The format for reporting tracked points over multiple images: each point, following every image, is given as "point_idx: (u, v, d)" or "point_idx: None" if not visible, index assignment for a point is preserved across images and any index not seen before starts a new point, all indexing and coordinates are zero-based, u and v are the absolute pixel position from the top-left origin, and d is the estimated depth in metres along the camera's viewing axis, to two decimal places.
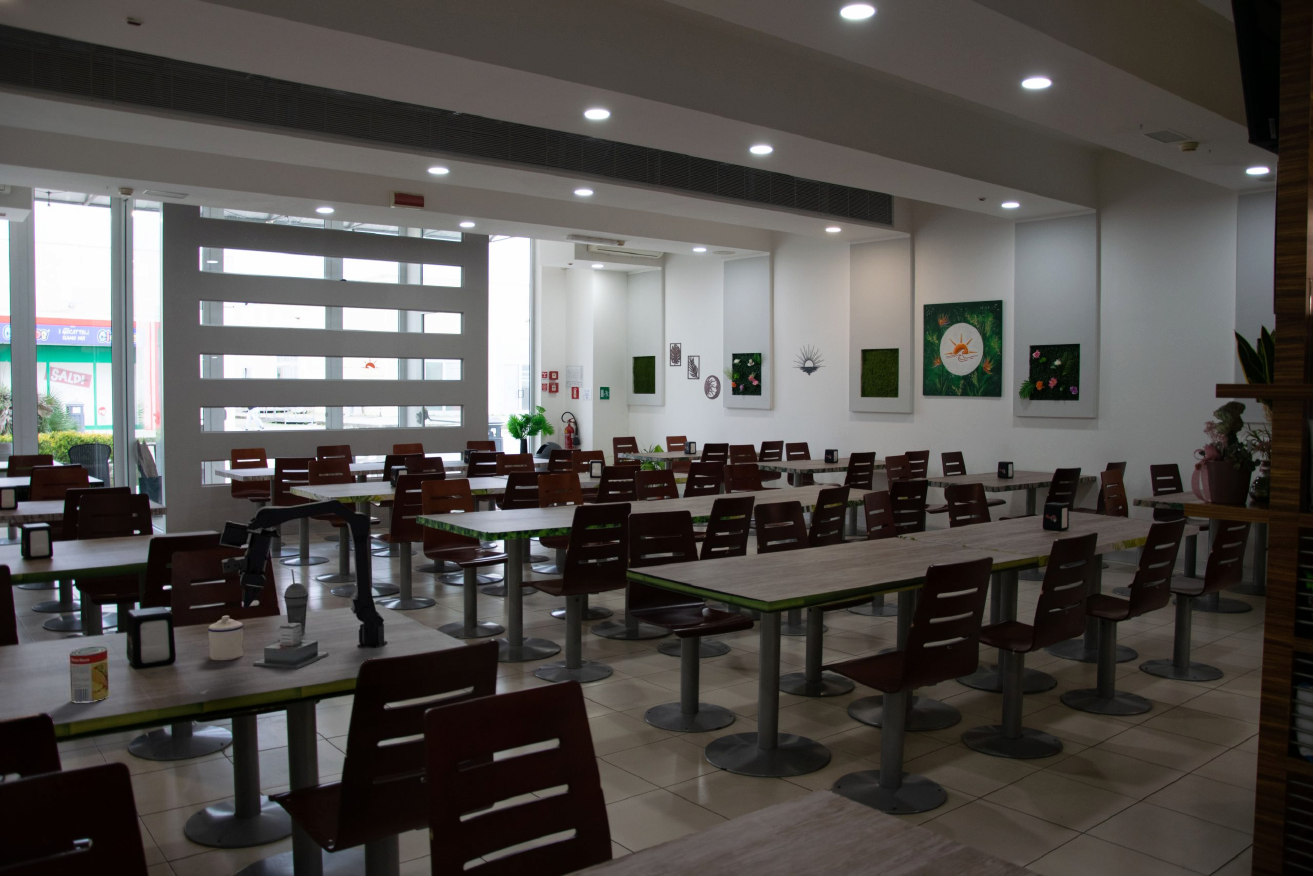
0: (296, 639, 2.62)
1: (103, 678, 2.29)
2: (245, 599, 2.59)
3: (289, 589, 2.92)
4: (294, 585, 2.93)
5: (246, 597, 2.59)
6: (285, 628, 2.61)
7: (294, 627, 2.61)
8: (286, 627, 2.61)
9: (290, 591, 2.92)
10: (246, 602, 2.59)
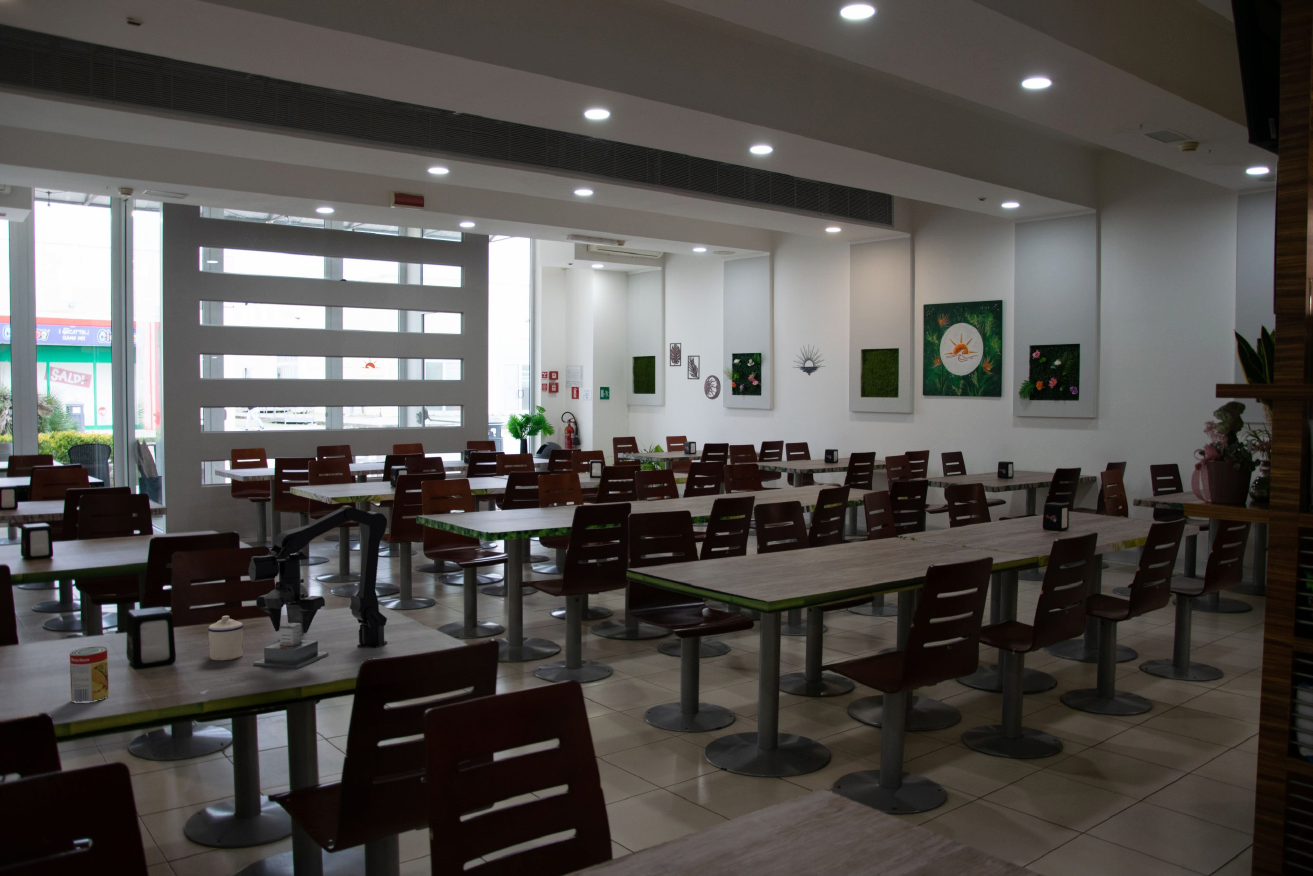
0: (296, 639, 2.62)
1: (103, 678, 2.29)
2: (306, 624, 2.61)
3: None
4: None
5: (307, 622, 2.61)
6: (285, 628, 2.61)
7: (294, 627, 2.61)
8: (286, 627, 2.61)
9: None
10: (307, 627, 2.61)
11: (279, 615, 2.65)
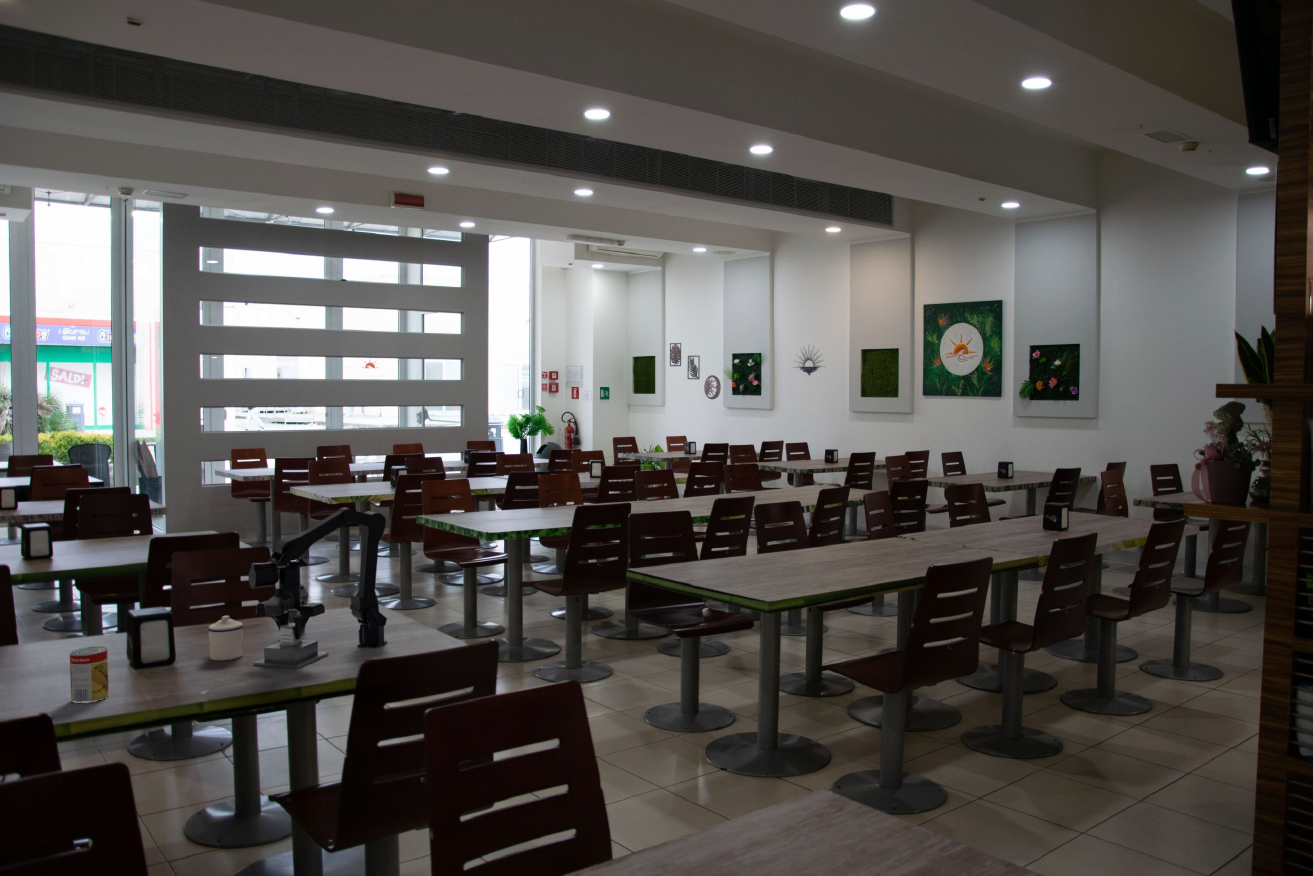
0: None
1: (103, 678, 2.29)
2: (299, 630, 2.61)
3: None
4: None
5: (299, 628, 2.61)
6: (285, 628, 2.61)
7: (294, 627, 2.61)
8: (286, 627, 2.61)
9: None
10: (299, 633, 2.62)
11: (286, 622, 2.65)
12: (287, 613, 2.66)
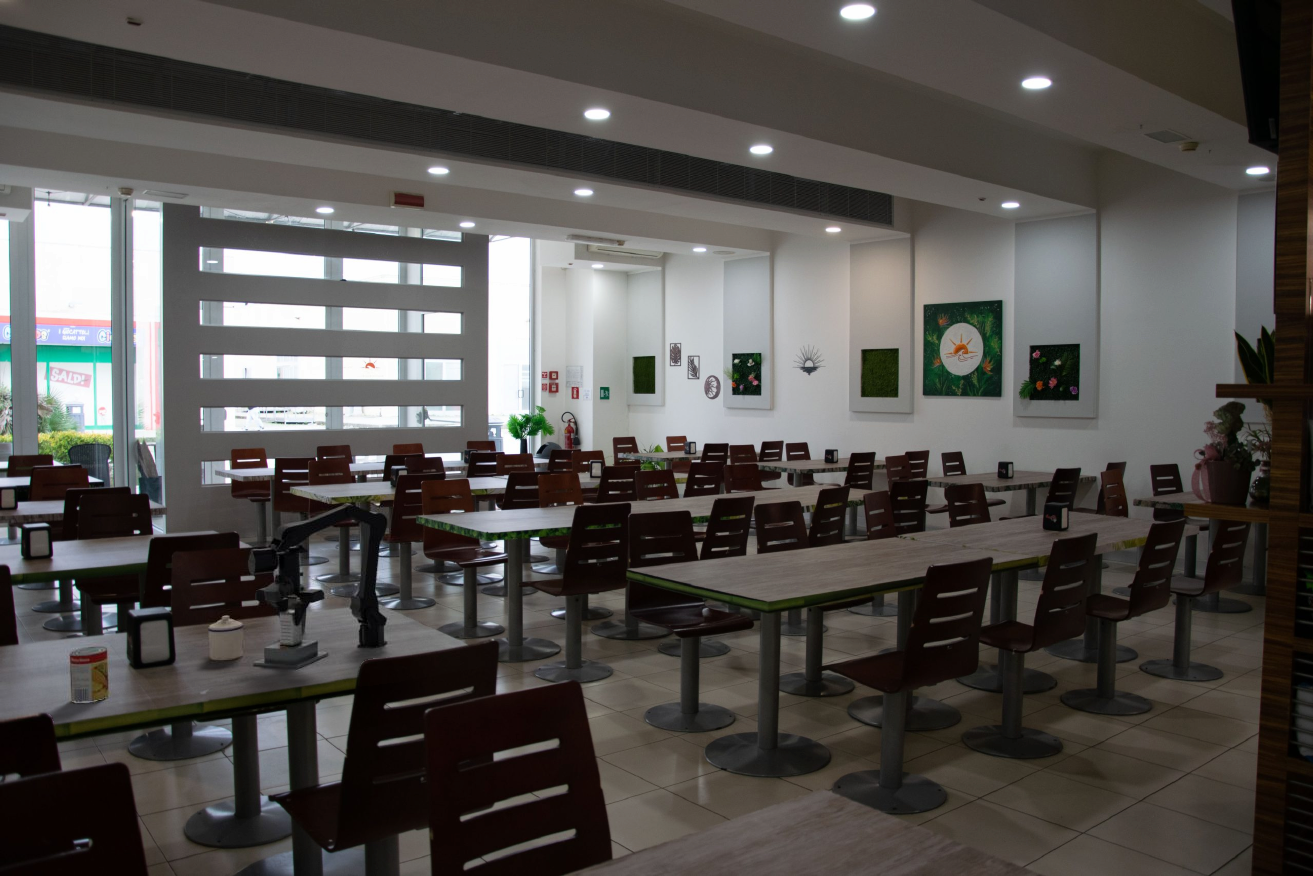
0: (295, 625, 2.62)
1: (103, 678, 2.29)
2: (298, 617, 2.61)
3: None
4: None
5: (299, 614, 2.61)
6: (285, 615, 2.61)
7: (294, 613, 2.61)
8: (286, 613, 2.61)
9: None
10: (299, 619, 2.62)
11: (285, 608, 2.65)
12: (287, 599, 2.65)
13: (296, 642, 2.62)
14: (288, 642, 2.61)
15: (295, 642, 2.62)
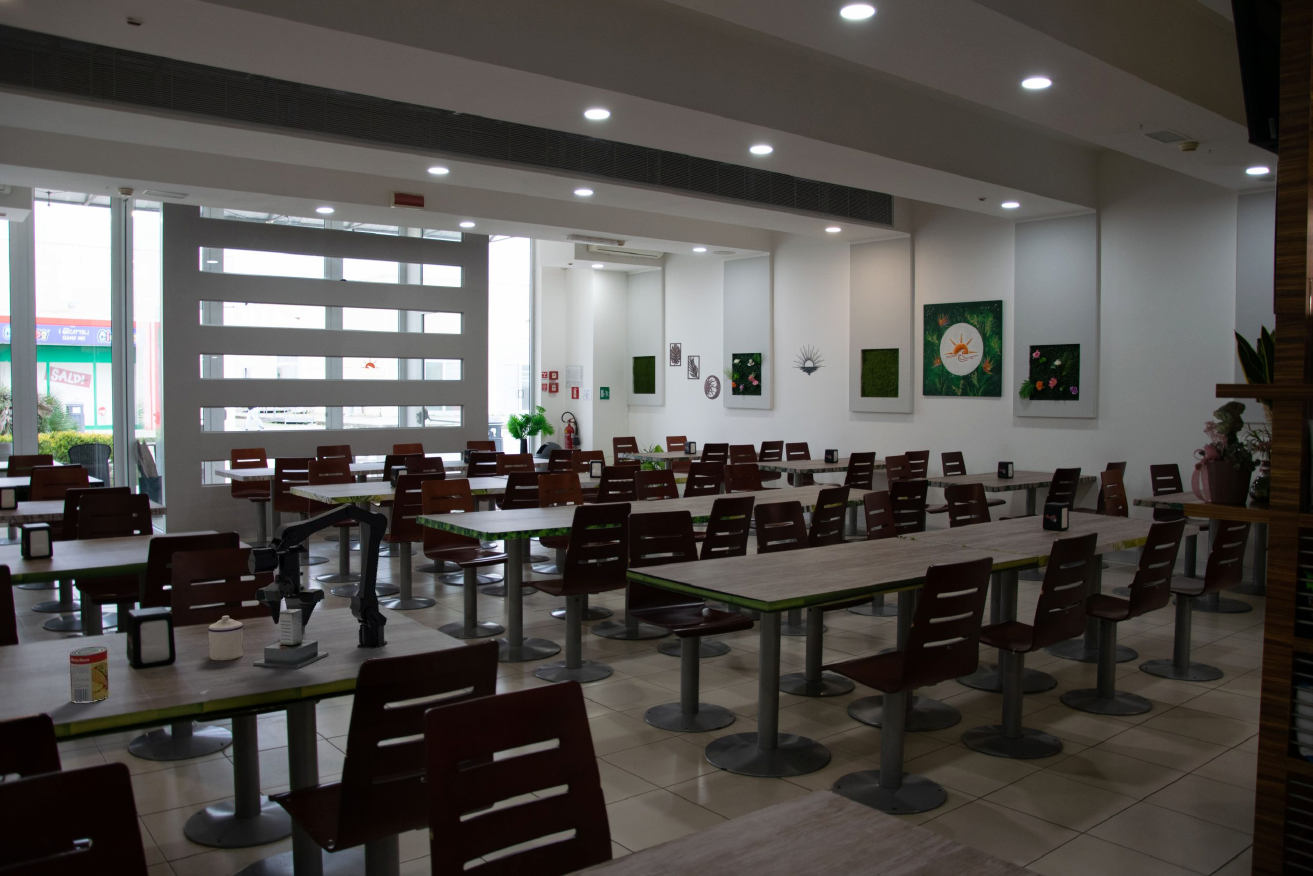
0: (295, 625, 2.62)
1: (103, 678, 2.29)
2: (306, 617, 2.61)
3: None
4: None
5: (306, 614, 2.61)
6: (285, 614, 2.61)
7: (294, 613, 2.61)
8: (286, 613, 2.61)
9: None
10: (306, 619, 2.61)
11: (278, 607, 2.65)
12: None
13: (296, 642, 2.62)
14: (288, 642, 2.61)
15: (295, 642, 2.62)
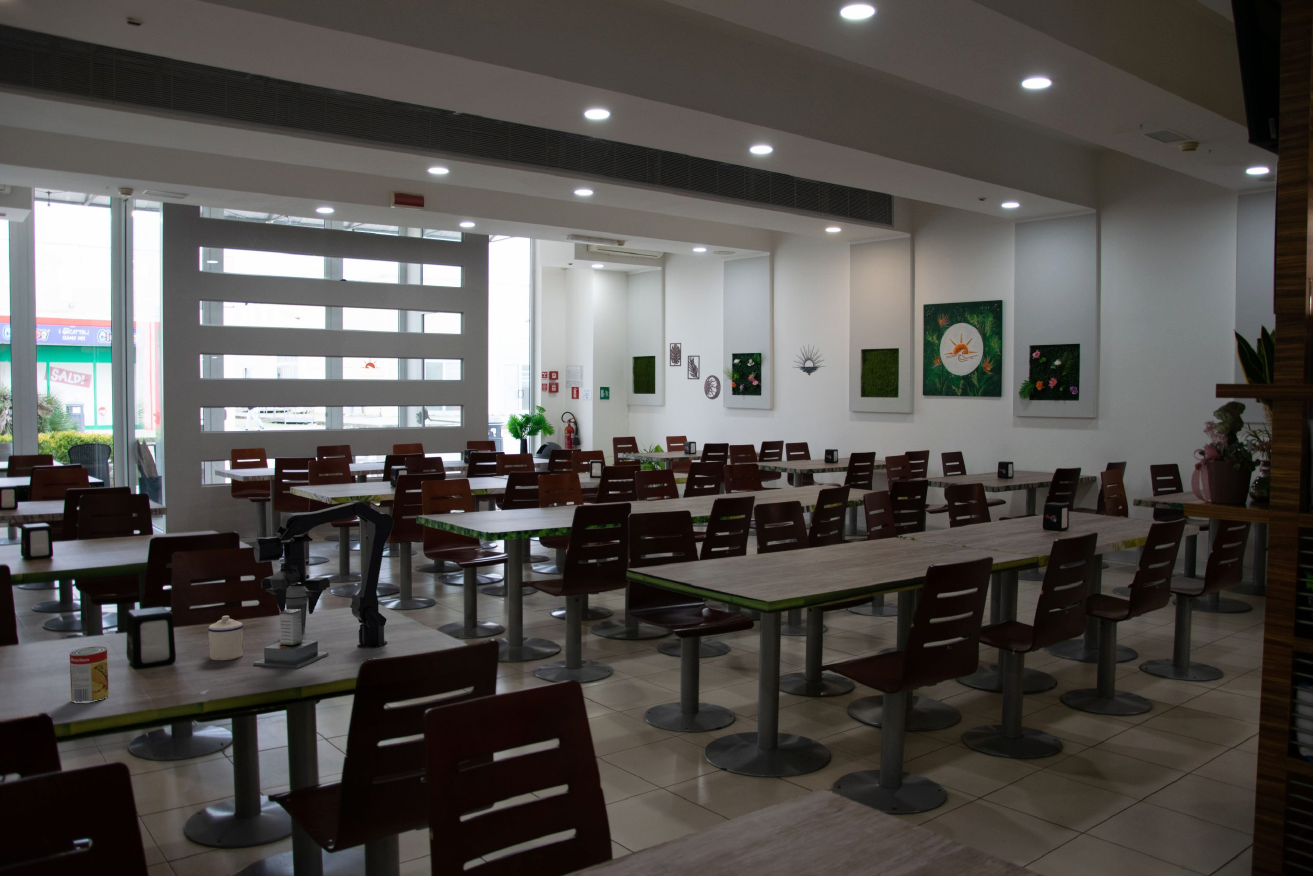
0: (295, 625, 2.62)
1: (103, 678, 2.29)
2: (312, 605, 2.63)
3: (289, 589, 2.92)
4: None
5: (312, 602, 2.63)
6: (285, 614, 2.61)
7: (294, 613, 2.61)
8: (286, 613, 2.61)
9: (290, 591, 2.92)
10: (312, 607, 2.63)
11: (284, 596, 2.68)
12: None
13: (296, 642, 2.62)
14: (288, 642, 2.61)
15: (295, 642, 2.62)
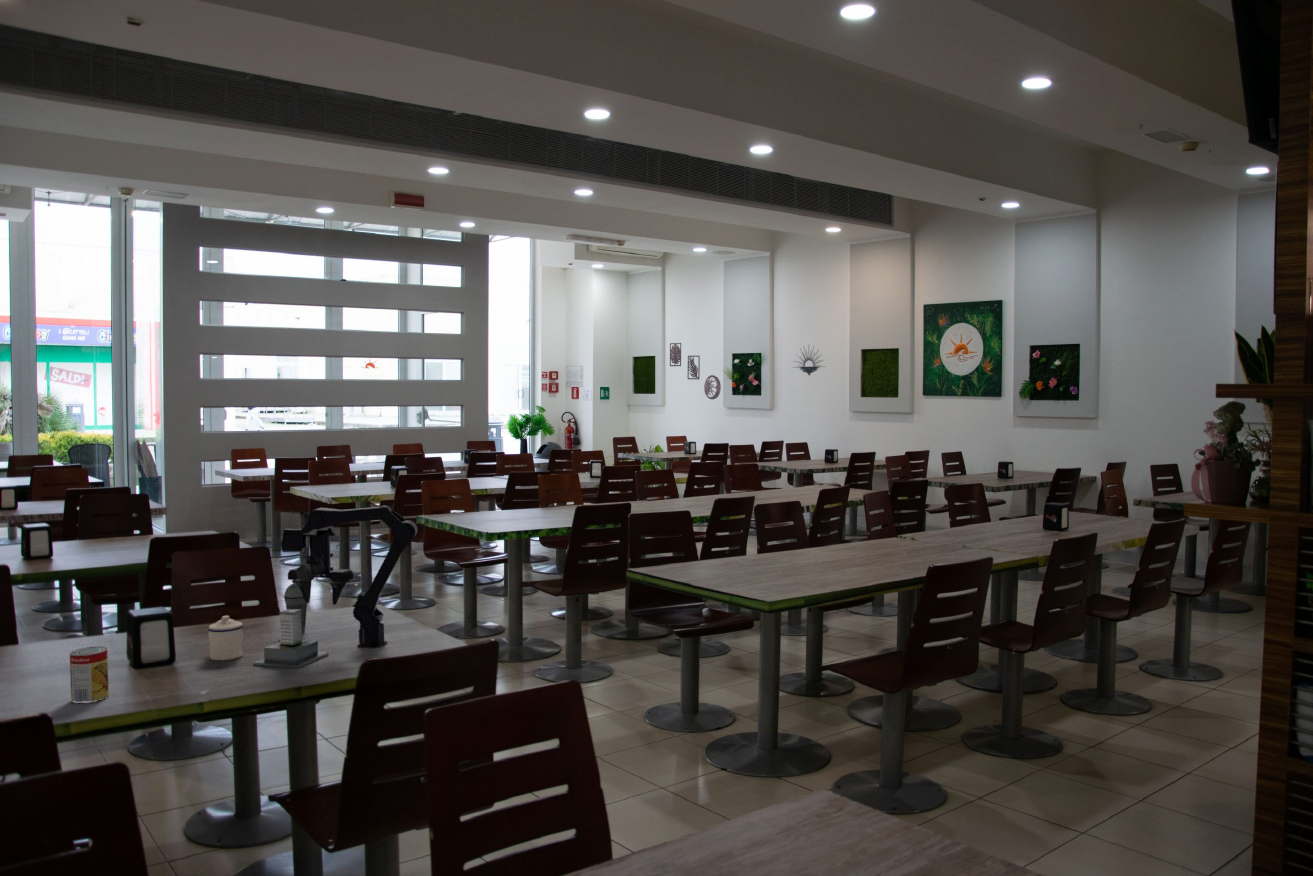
0: (295, 625, 2.62)
1: (103, 678, 2.29)
2: (336, 596, 2.74)
3: (289, 589, 2.92)
4: (294, 585, 2.93)
5: (336, 594, 2.74)
6: (285, 614, 2.61)
7: (294, 613, 2.61)
8: (286, 613, 2.61)
9: (290, 591, 2.92)
10: (336, 598, 2.74)
11: (309, 587, 2.79)
12: None
13: (296, 642, 2.62)
14: (288, 642, 2.61)
15: (295, 642, 2.62)
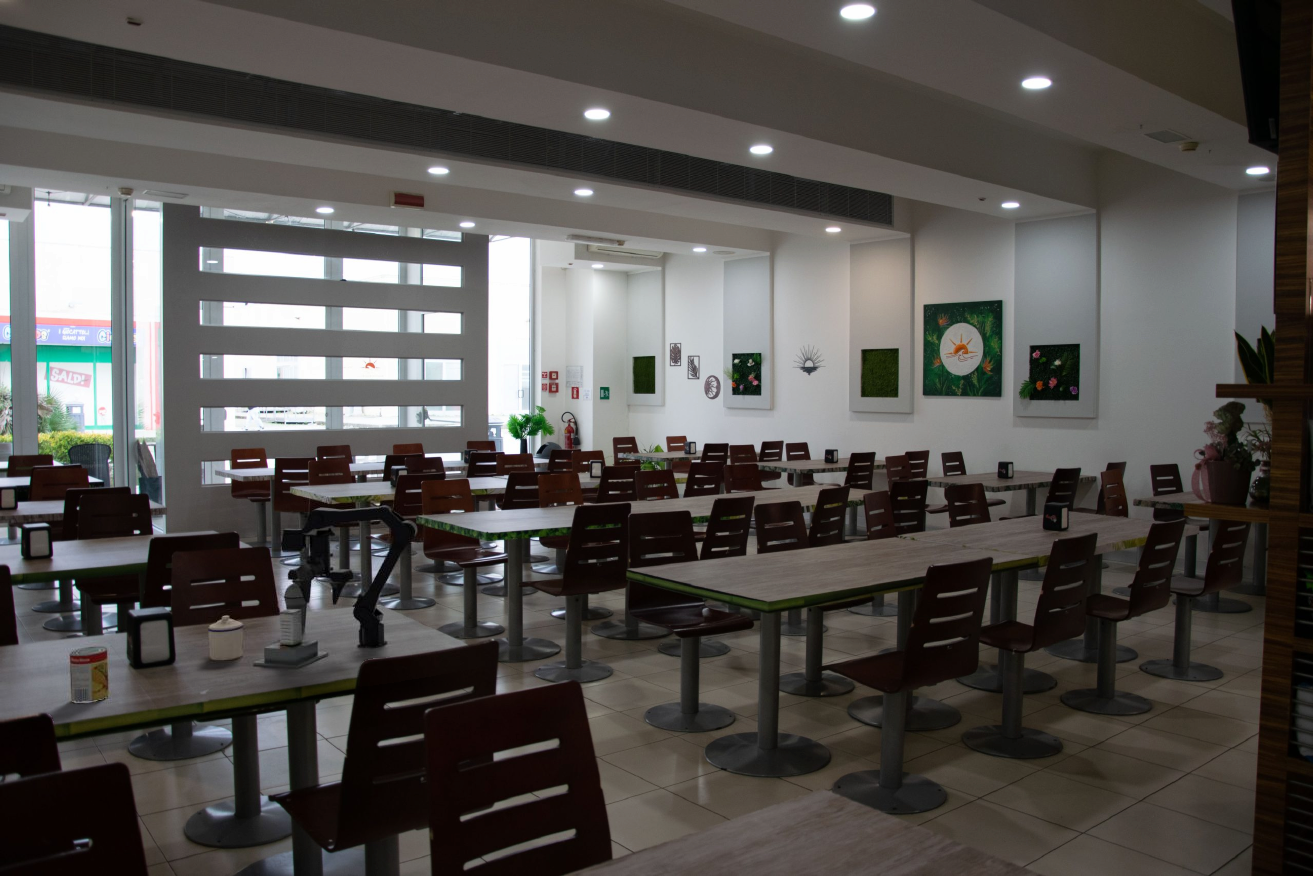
0: (295, 625, 2.62)
1: (103, 678, 2.29)
2: (336, 596, 2.74)
3: (289, 589, 2.92)
4: (294, 585, 2.93)
5: (336, 594, 2.74)
6: (285, 614, 2.61)
7: (294, 613, 2.61)
8: (286, 613, 2.61)
9: (290, 591, 2.92)
10: (336, 598, 2.74)
11: (309, 587, 2.79)
12: None
13: (296, 642, 2.62)
14: (288, 642, 2.61)
15: (295, 642, 2.62)
